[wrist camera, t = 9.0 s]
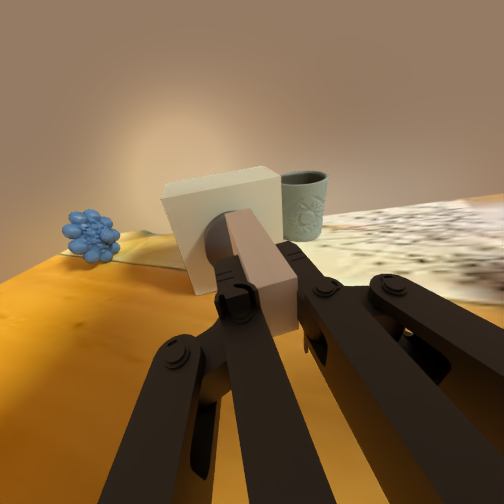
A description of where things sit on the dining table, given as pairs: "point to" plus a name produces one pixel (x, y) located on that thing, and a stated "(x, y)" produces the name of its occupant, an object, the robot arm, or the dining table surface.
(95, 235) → the grapes
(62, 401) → the dining table surface
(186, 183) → the cream rectangular block
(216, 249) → the knob
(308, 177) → the grey-green cup
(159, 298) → the dining table surface
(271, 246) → the robot arm
